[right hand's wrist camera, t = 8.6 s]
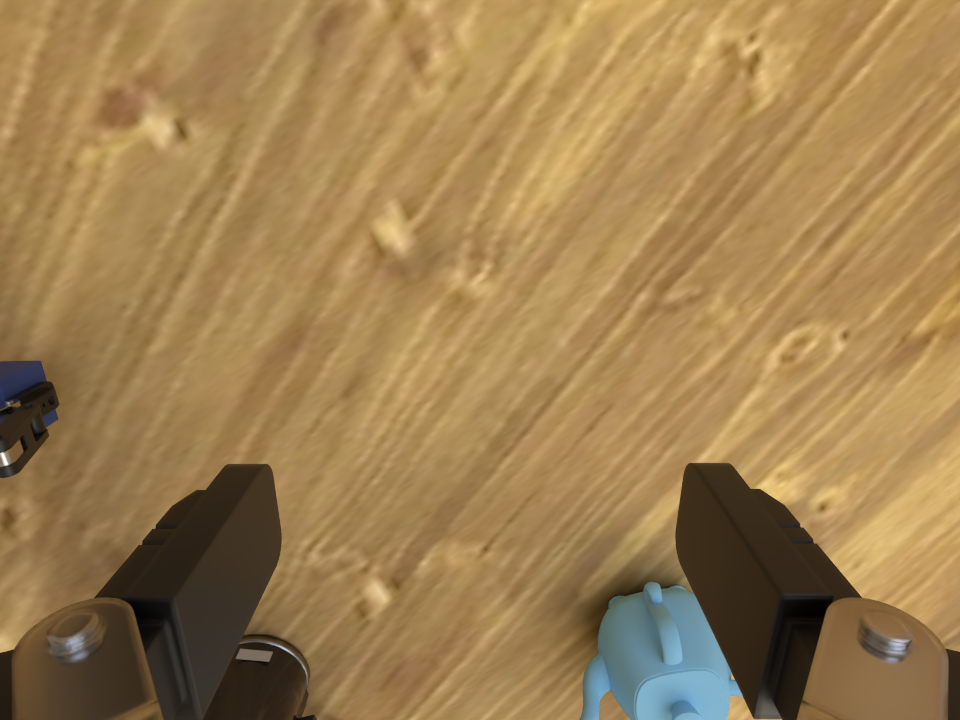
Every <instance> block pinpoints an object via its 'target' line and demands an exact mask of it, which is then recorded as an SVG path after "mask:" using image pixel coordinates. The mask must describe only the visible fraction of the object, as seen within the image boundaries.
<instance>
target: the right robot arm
mask: <svg viewBox="0 0 960 720" xmlns="http://www.w3.org/2000/svg"><path fill="white" fill-rule="evenodd" d="M676 549H677V555H678V559H679V562H680V564H681V567H682V569H683V571H684V573H685V575H686V577H687V579H688V581H689V584H690V586H691V588H692V590H693V592H694V594H695V596H696V598H697V600H698V603H699V605H700V607H701V609H702V611H703V613H704V615H705V617H706V619H707V622H708V624H709V626H710V628H711V630H712V632H713V634H714V636H715V638H716V640H717V643H718V645H719V647H720V649H721V651H722V653H723V655H724V657H725V659H726V662H727V664H728V666H729V668H730V670H731V672H732V674H733V676H734V678H735V681H736V683H737V685H738V687H739V689H740V691H741V693H742V695H743V697H744V699H745V702H746V704H747V706H748V708H749V710H750V712H751V714H752V716H753V718H754V719H782V720H960V652H958V651H953V650H949V649H945V647H944V646H943V644H942V642H941V641H940V640H939V638H938V637H937V636H936V635H935V634H934V633H933V632H932V631H931V630H930V629H929V628H928V627H927V626H925V625H924V624H923V623H921V622H920V621H919V620H917V619H916V618H914V617H912V616H911V615H909V614H908V613H906V612H904V611H902V610H900V609H898V608H895V607H893V606H891V605H888V604H885V603H882V602H879V601H875V600H871V599H865V598H862V597H861V596H860V595H859V594H858V592H857V591H856V590H855V589H854V588H853V586H852V585H851V584H850V583H849V582H848V580H847V579H846V578H845V577H844V576H843V574H842V573H841V572H840V571H839V570H838V568H837V567H836V566H835V565H834V564H833V563H832V561H831V560H830V559H829V558H828V557H827V555H826V554H825V553H824V552H823V551H822V549H821V548H820V547H819V546H818V545H817V544H814V543H813V539H812V537H811V536H810V535H809V534H808V533H807V532H806V530H805V529H804V528H801V527H800V523H799V522H798V521H797V520H796V518H795V517H794V516H793V515H792V514H791V512H790V511H789V510H788V509H787V508H786V506H785V505H783V504H782V503H780V502H779V501H777V500H776V499H774V498H773V497H771V496H770V495H768V494H767V493H765V492H764V491H762V490H761V489H750V488H749V486H748V485H747V484H746V482H745V481H744V480H743V479H742V477H741V476H740V475H739V473H738V472H737V471H736V470H735V468H734V467H733V466H732V465H731V464H729V463H689V464H688V465H687V466H686V468H685V471H684V476H683V482H682V490H681V497H680V504H679V511H678V518H677V525H676ZM280 551H281V526H280V519H279V512H278V505H277V498H276V491H275V484H274V477H273V472H272V469H271V467H270V466H269V465H268V464H227V465H226V466H225V467H224V468H223V469H222V470H221V471H220V473H219V474H218V475H217V476H216V478H215V479H214V480H213V481H212V483H211V484H210V485H209V487H208V488H207V489H206V490H196V491H195V492H193V493H191V494H190V495H188V496H187V497H185V498H184V499H182V500H181V501H179V502H178V503H176V504H175V505H173V506H172V507H171V508H170V509H169V510H168V511H167V513H166V514H165V515H164V516H163V517H162V519H161V520H160V521H159V522H158V523H157V524H156V529H152V530H151V532H150V533H149V534H148V535H147V536H146V537H145V539H144V540H143V543H142V545H139V546H138V547H137V548H136V549H135V550H134V552H133V553H132V554H131V555H130V556H129V558H128V559H127V560H126V561H125V562H124V563H123V565H122V566H121V567H120V568H119V569H118V571H117V572H116V573H115V574H114V575H113V576H112V578H111V579H110V580H109V581H108V582H107V584H106V585H105V586H104V587H103V588H102V589H101V591H100V592H99V593H98V594H97V595H96V597H95V598H94V599H89V600H85V601H81V602H78V603H75V604H72V605H69V606H67V607H65V608H62V609H60V610H58V611H56V612H54V613H52V614H51V615H49V616H48V617H46V618H44V619H43V620H41V621H40V622H39V623H37V624H36V625H35V626H33V627H32V628H31V629H30V630H29V631H28V632H27V633H26V634H25V635H24V636H23V637H22V638H21V640H20V641H19V642H18V644H17V646H16V647H15V649H14V650H10V651H7V652H2V653H0V720H203V718H204V716H205V714H206V711H207V709H208V707H209V705H210V703H211V701H212V699H213V697H214V695H215V693H216V691H217V689H218V686H219V684H220V682H221V680H222V678H223V676H224V674H225V672H226V670H227V668H228V666H229V664H230V661H231V659H232V657H233V655H234V653H235V651H236V649H237V647H238V645H239V643H240V641H241V639H242V637H243V634H244V632H245V630H246V628H247V626H248V624H249V622H250V620H251V618H252V616H253V614H254V612H255V609H256V607H257V605H258V603H259V601H260V599H261V597H262V595H263V593H264V591H265V589H266V587H267V584H268V582H269V580H270V578H271V576H272V574H273V572H274V570H275V568H276V566H277V563H278V560H279V556H280Z"/></svg>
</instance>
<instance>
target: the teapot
mask: <svg viewBox="0 0 960 720" xmlns="http://www.w3.org/2000/svg"><path fill="white" fill-rule="evenodd" d="M608 606H609V609H608V610H607V612H606V613H605V615H604V617H603V620H602V622H601V625H600V629H599V634H598V654H597V655H595V656H594V657H593V658H592V659H591V661H590V662H589V664H588V665H587V667H586V670H585V672H584V677H583V711H582V715H581V718H580V720H598V717H599V703H600V700H601V698H602V696H603V695H604V694H605V693H607V692H608V691H609V690H611V691H612V693H613V695H614V696H615V698H616V700H617V701H618V703H619V704H620V706H621V707H622V709H623V710H624V712H625V713H626V714H627V716H628V717H629V718H630V719H631V720H726V719H727V716H728V710H729V703H730V696H743V695H742V693H741V691H740V689H739V687H738V685H737V683H736V681H735V680H731V670H730V668H729V666H728V664H727V662H726V659H725V657H724V655H723V653H722V651H721V649H720V647H719V645H718V643H717V640H716V638H715V636H714V634H713V632H712V630H711V628H710V626H709V624H708V622H707V619H706V617H705V615H704V613H703V611H702V609H701V607H700V605H699V603H698V600H697V598H696V596H695V594H693V593H691V592H689V591H686V589H685V588H684V587H682V586H677V585H676V586H671V587H669V588H665V589H661V588H660V585H659V584H658V583H656V582H648V583H647V584H646V585H645V586H644V589H643V592H639V593H635V594H631V595H628V596H621V595H620V596H616V597H613V598H612V599H611V600H610V601H609V604H608Z"/></svg>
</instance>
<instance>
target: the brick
mask: <svg viewBox="0 0 960 720" xmlns="http://www.w3.org/2000/svg"><path fill="white" fill-rule="evenodd" d="M38 382H47V380H46V377H45V374H44V370H43V367H42V364H41V361H10V362H0V403H1V402H4V401H5V400H6V399H8V398H10V397H12V396H14V395H16V394H17V393H19V392H21V391H23V390H25V389H27V388H28V387H30V386H32V385H34V384H36V383H38ZM43 420H44V424H45V427H47V426H49V425H50V424H52V423H53V422H55V421H56V420H58V416H57V413H56V410H55V409H54V410H52V411H51V412H49V413H48V414H46V415H45V416H43ZM2 422H3V421H2V418H1V417H0V424H1V423H2Z"/></svg>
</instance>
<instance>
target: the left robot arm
mask: <svg viewBox="0 0 960 720" xmlns="http://www.w3.org/2000/svg"><path fill="white" fill-rule="evenodd" d="M58 406H59V401H58V398H57V395H56V392H55V388H54V386H53V384H52V383H51V382H38V383H36V384H34V385H32V386H30V387H28V388H27V389H25V390H23V391H21V392H19V393H17V394H16V395H14V396H12V397H10V398H8V399H6V400H5V401H4V402H1V403H0V417H1V418H2V421H3V422H2V423H1V424H0V478H5V477H10V476H13V475H15V474H17V473H19V472H20V471H21V470H22V468H23V467H24V466H25V465H26V464H27V462H28V461H29V460H30V459H31V457H32V456H33V455H34V454H35V452H36V451H37V450H38V449H39V448H40V446H41V445H42V444H43V443H44V441H45V440H46V439H47V438H48V437H49V433H48V430H47V429H46V427H45V424H44V420H43V416H45V415H46V414H48V413H49V412H51V411H52V410H54V409H56V408H57V407H58ZM309 678H310V671H309V667H308V664H307V662H306V660H305V658H304V657H303V656H302V654H301V653H300V652H299V651H298V650H296V649H295V648H294V647H293V646H291V645H289V644H288V643H286V642H284V641H281V640H279V639H276V638H272V637H267V636H247V637H242V639H241V641H240V643H239V645H238V647H237V649H236V651H235V653H234V655H233V657H232V659H231V661H230V664H229V666H228V668H227V670H226V672H225V674H224V676H223V678H222V680H221V682H220V684H219V686H218V689H217V691H216V693H215V695H214V697H213V699H212V701H211V703H210V705H209V707H208V709H207V711H206V714H205V716H204V718H203V720H317V719H316V717H315V715H311V716H306V717H302V715H303V711H304V708H305V705H306V702H307V698H308V693H307V691H306V689H307V686H308V683H309Z"/></svg>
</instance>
